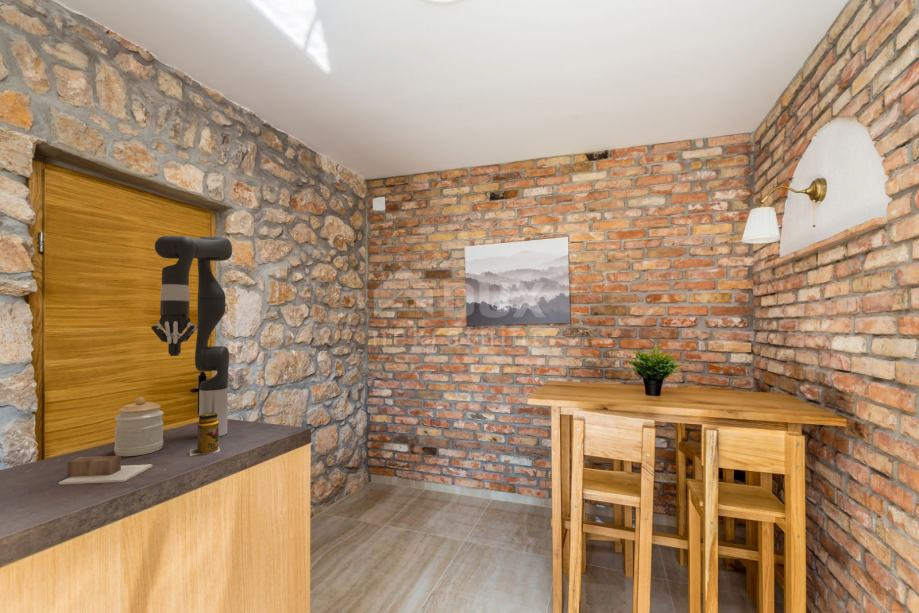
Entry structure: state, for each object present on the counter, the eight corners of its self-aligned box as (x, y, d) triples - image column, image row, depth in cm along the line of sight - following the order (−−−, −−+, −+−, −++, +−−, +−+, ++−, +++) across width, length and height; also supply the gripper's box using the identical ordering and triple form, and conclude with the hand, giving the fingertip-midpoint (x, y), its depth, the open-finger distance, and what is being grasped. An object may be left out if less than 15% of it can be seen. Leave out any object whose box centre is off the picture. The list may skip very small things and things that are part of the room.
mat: (93, 468, 123) (93, 466, 123) (152, 466, 124) (152, 464, 124) (58, 484, 111) (58, 482, 111) (123, 481, 112) (124, 479, 112)
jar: (103, 455, 135) (104, 400, 136) (144, 444, 148) (145, 393, 148) (133, 458, 132) (134, 401, 132) (172, 447, 144) (173, 394, 145)
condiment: (220, 451, 138) (220, 414, 139) (189, 456, 134) (190, 418, 134) (218, 446, 144) (219, 411, 145) (189, 450, 140) (189, 414, 140)
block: (120, 469, 120) (79, 471, 119) (121, 455, 120) (79, 457, 119) (110, 475, 116) (67, 476, 115) (110, 460, 116) (67, 461, 115)
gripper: (203, 300, 136) (203, 354, 135) (159, 300, 134) (159, 355, 134) (191, 299, 128) (190, 356, 128) (144, 299, 127) (143, 357, 126)
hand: (174, 355), depth 131 cm, fingers closed
